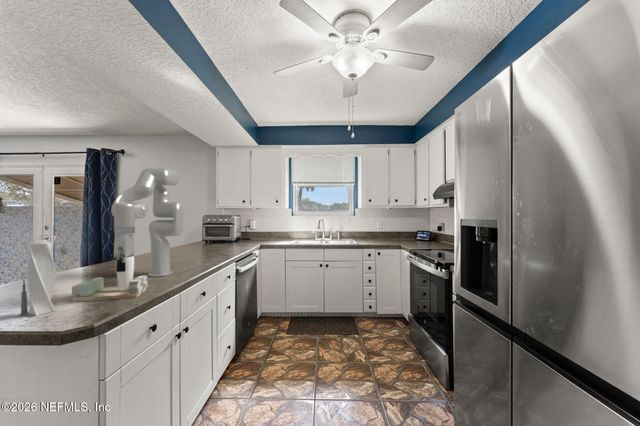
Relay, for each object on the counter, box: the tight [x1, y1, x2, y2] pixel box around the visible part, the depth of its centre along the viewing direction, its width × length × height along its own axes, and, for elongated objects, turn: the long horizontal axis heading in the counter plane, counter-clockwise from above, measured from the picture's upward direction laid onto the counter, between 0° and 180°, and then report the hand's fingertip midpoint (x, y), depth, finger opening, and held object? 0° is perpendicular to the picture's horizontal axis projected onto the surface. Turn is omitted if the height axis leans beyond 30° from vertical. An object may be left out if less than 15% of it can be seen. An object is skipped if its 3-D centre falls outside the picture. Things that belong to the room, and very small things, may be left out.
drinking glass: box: [116, 255, 135, 291], centre depth 128 cm, size 7×7×15 cm
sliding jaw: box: [71, 277, 105, 296], centre depth 124 cm, size 13×7×5 cm, turn 14°
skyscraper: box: [19, 235, 57, 319], centre depth 104 cm, size 8×8×28 cm
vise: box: [71, 274, 149, 303], centre depth 127 cm, size 16×23×6 cm
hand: (125, 269), depth 128 cm, fingers open, 9 cm apart
